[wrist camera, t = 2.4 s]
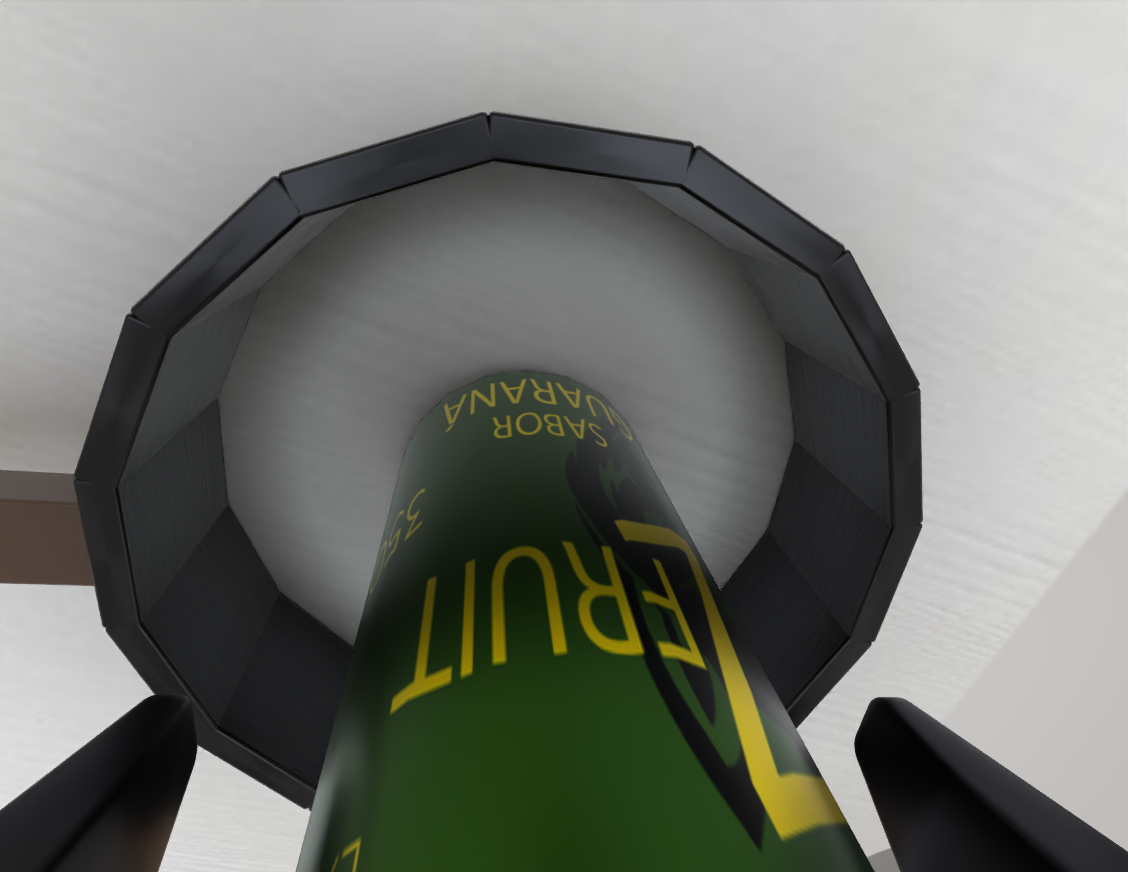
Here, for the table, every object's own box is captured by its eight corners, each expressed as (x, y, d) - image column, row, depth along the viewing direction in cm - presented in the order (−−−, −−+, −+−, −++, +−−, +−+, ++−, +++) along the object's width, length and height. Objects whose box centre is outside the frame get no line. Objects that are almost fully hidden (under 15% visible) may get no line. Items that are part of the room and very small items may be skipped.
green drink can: (624, 562, 16) (929, 1424, 5) (410, 569, 15) (235, 1585, 4) (646, 360, 14) (1255, 1116, 3) (396, 358, 13) (-13, 1334, 2)
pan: (898, 186, 13) (1060, 198, 9) (736, 697, 18) (798, 830, 15) (-349, 0, 10) (-862, -98, 6) (-89, 695, 15) (-270, 866, 11)
